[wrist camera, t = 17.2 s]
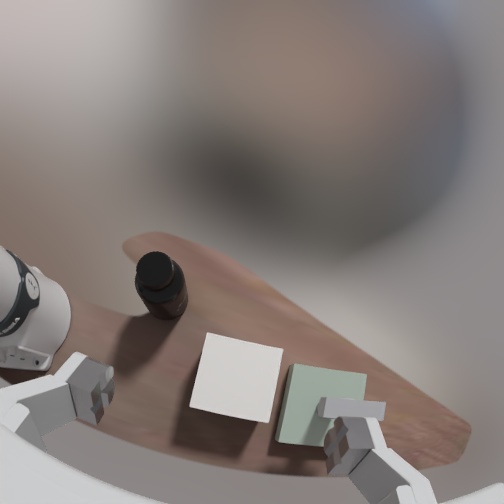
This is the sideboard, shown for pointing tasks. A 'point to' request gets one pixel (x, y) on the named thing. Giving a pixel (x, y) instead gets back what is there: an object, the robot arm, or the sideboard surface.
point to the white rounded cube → (236, 378)
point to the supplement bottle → (161, 285)
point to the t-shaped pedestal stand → (321, 403)
